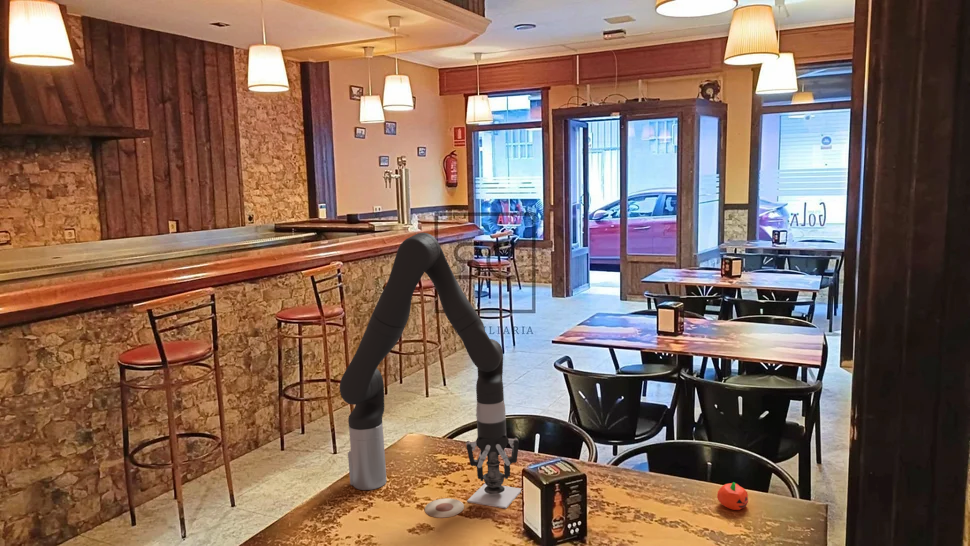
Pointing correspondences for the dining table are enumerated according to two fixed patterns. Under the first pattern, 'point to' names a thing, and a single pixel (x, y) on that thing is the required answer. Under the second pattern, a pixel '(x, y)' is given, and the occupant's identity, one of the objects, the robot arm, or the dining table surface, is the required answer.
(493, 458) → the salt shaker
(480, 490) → the mat
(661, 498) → the dining table surface
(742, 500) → the halloween pumpkin figurine
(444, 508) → the coaster
